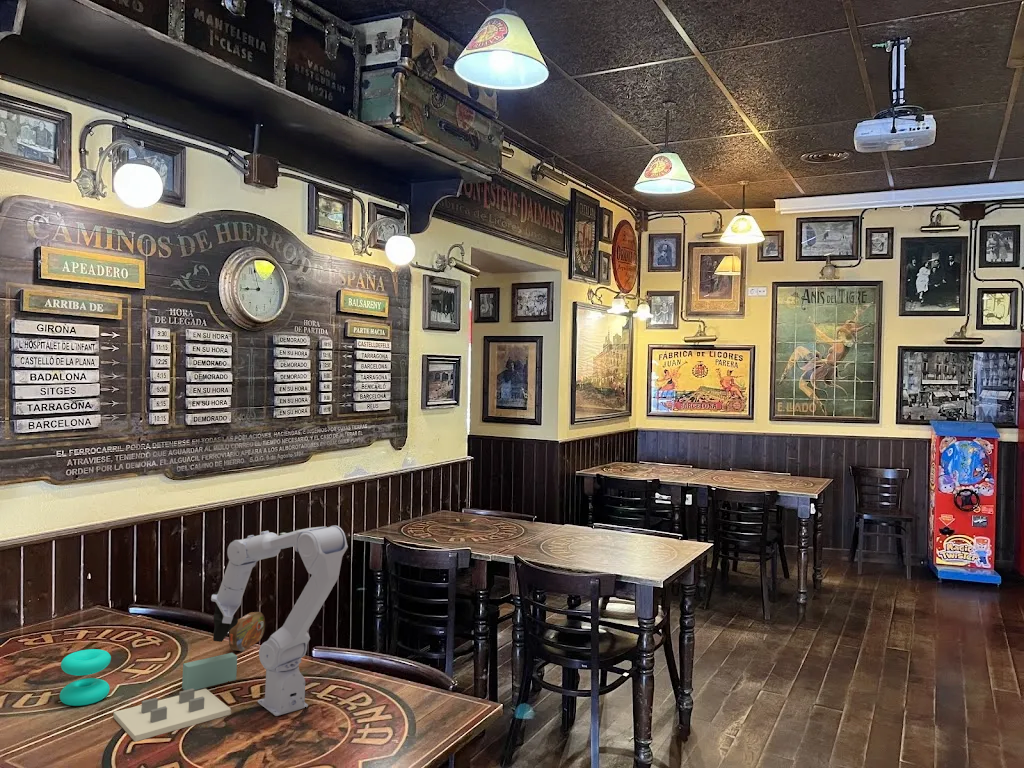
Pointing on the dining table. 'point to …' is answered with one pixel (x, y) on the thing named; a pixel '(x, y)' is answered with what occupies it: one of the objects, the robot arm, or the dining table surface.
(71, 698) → the donuts
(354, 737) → the dining table surface
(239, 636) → the tin
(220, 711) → the hinge board
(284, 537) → the robot arm
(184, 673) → the teal rectangular block
